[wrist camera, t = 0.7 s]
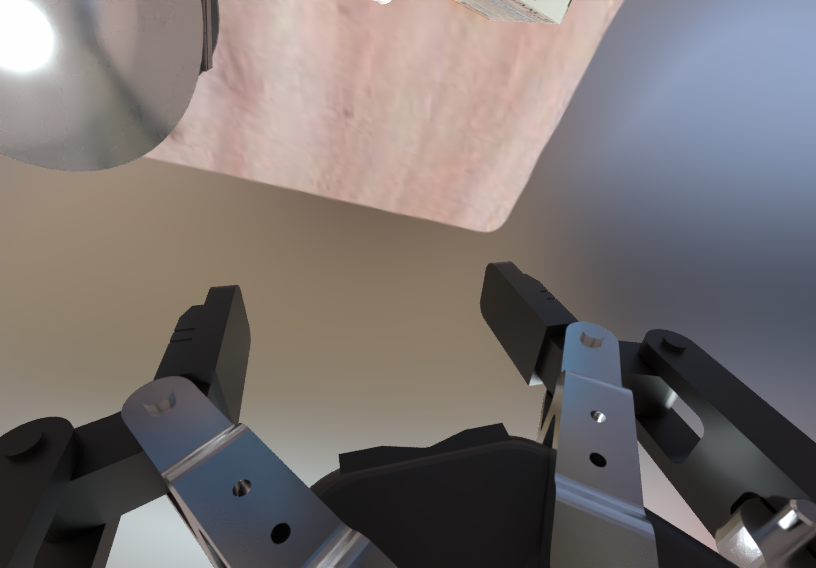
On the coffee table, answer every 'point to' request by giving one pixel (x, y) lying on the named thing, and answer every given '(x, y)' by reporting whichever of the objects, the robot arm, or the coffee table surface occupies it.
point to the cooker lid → (95, 78)
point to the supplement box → (520, 10)
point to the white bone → (382, 1)
